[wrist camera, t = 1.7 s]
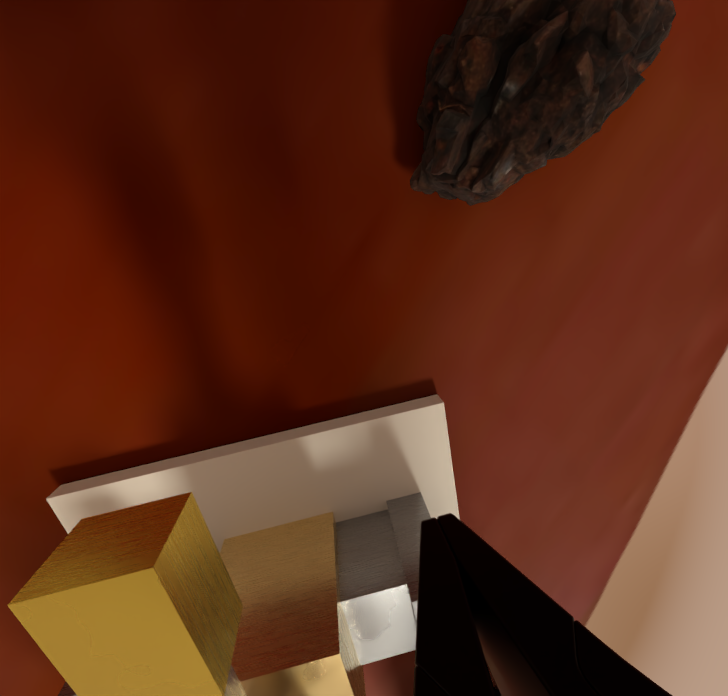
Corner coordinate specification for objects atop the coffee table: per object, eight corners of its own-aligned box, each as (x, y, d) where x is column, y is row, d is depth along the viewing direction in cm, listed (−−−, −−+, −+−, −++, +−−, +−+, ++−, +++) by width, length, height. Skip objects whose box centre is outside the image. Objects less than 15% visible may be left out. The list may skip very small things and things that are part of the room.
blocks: (433, 566, 21) (485, 711, 14) (173, 636, 20) (103, 825, 14) (420, 489, 19) (471, 616, 13) (130, 563, 18) (26, 742, 12)
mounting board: (464, 587, 23) (471, 602, 22) (171, 668, 22) (164, 687, 21) (437, 394, 18) (443, 402, 17) (61, 484, 17) (46, 499, 16)
